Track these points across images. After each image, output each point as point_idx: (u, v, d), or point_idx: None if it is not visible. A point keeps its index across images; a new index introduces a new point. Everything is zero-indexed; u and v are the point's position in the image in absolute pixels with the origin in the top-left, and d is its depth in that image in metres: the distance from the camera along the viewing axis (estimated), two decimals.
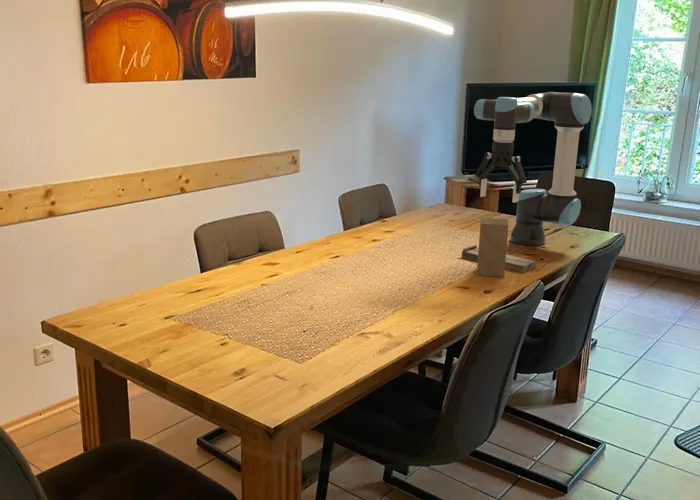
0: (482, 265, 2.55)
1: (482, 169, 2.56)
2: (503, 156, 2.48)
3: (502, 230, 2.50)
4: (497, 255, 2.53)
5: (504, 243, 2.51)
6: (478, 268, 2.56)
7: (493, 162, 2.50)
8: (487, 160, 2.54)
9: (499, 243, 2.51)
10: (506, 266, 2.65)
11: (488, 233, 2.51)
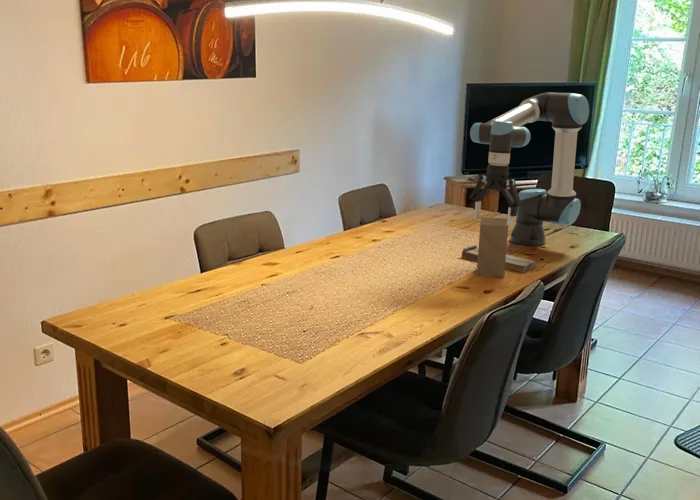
0: (482, 265, 2.55)
1: (476, 192, 2.56)
2: (498, 179, 2.48)
3: (502, 231, 2.49)
4: (497, 256, 2.52)
5: (504, 244, 2.50)
6: (478, 268, 2.55)
7: (488, 185, 2.51)
8: (482, 183, 2.55)
9: (499, 244, 2.51)
10: (506, 266, 2.65)
11: (487, 234, 2.50)
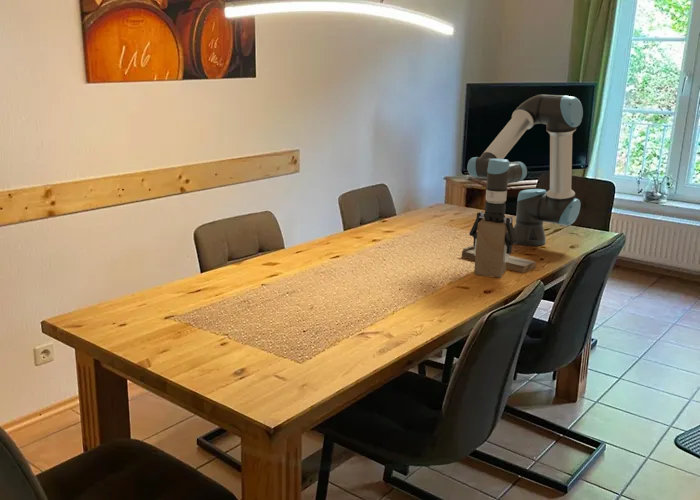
0: (479, 264, 2.56)
1: (476, 228, 2.60)
2: (495, 216, 2.52)
3: (498, 231, 2.50)
4: (493, 256, 2.53)
5: (500, 243, 2.50)
6: (475, 267, 2.57)
7: None
8: (480, 219, 2.59)
9: (496, 243, 2.51)
10: (506, 266, 2.65)
11: (484, 232, 2.52)
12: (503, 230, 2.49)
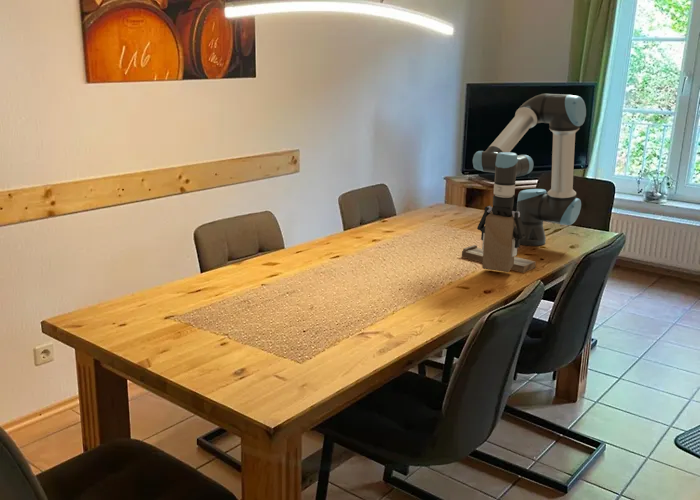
0: (487, 258, 2.54)
1: (484, 222, 2.59)
2: (504, 210, 2.51)
3: (507, 225, 2.48)
4: (502, 250, 2.51)
5: (508, 238, 2.49)
6: (483, 261, 2.55)
7: None
8: (488, 213, 2.57)
9: (504, 237, 2.50)
10: None
11: (492, 226, 2.50)
12: (511, 224, 2.48)
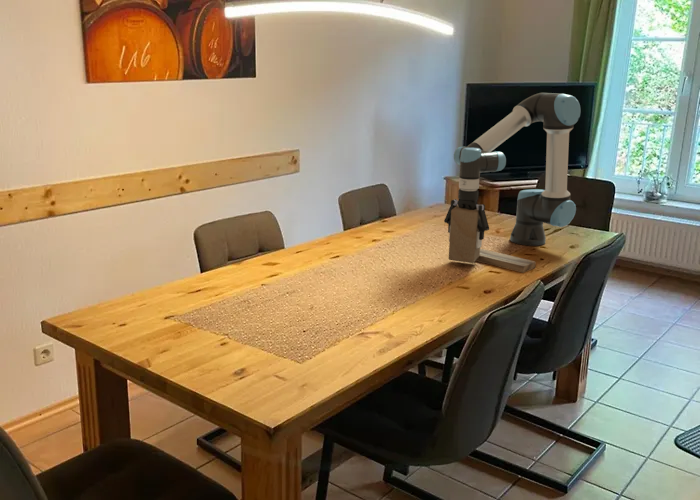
0: (453, 250, 2.64)
1: (450, 215, 2.69)
2: (468, 203, 2.61)
3: (471, 217, 2.58)
4: (466, 241, 2.61)
5: (473, 230, 2.59)
6: (449, 253, 2.65)
7: None
8: (454, 207, 2.67)
9: (469, 229, 2.60)
10: (506, 266, 2.65)
11: (458, 219, 2.60)
12: (475, 217, 2.58)
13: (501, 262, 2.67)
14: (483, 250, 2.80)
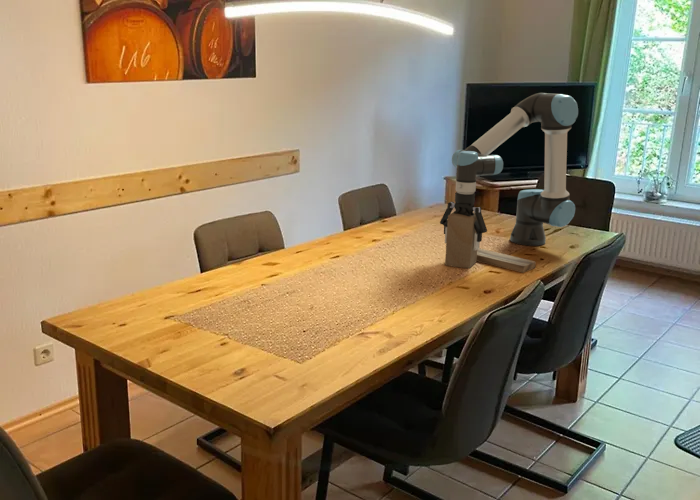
0: (450, 255, 2.66)
1: (446, 217, 2.71)
2: (465, 206, 2.62)
3: (467, 223, 2.60)
4: (463, 247, 2.63)
5: (469, 235, 2.61)
6: (446, 258, 2.67)
7: (456, 212, 2.65)
8: (451, 209, 2.69)
9: (465, 235, 2.61)
10: (506, 266, 2.65)
11: (454, 225, 2.62)
12: (471, 222, 2.59)
13: (501, 262, 2.67)
14: (483, 250, 2.80)
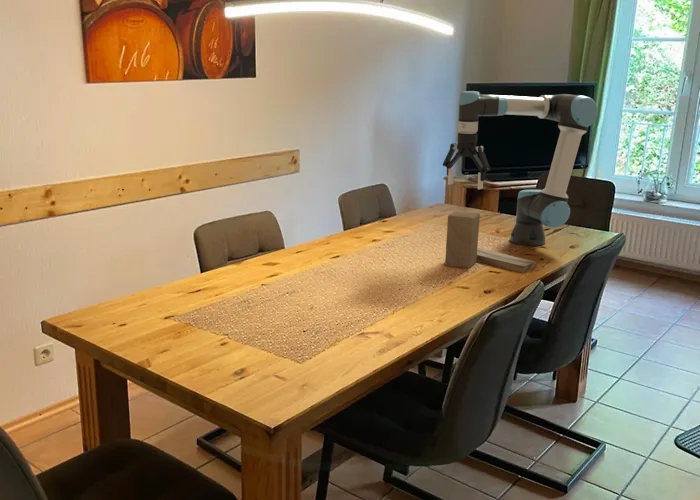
0: (450, 255, 2.66)
1: (449, 159, 2.74)
2: (468, 146, 2.66)
3: (467, 223, 2.60)
4: (463, 247, 2.63)
5: (469, 235, 2.61)
6: (446, 258, 2.67)
7: (459, 152, 2.68)
8: (453, 150, 2.72)
9: (465, 235, 2.61)
10: (506, 266, 2.65)
11: (454, 224, 2.62)
12: (471, 222, 2.59)
13: (501, 262, 2.67)
14: (483, 250, 2.80)
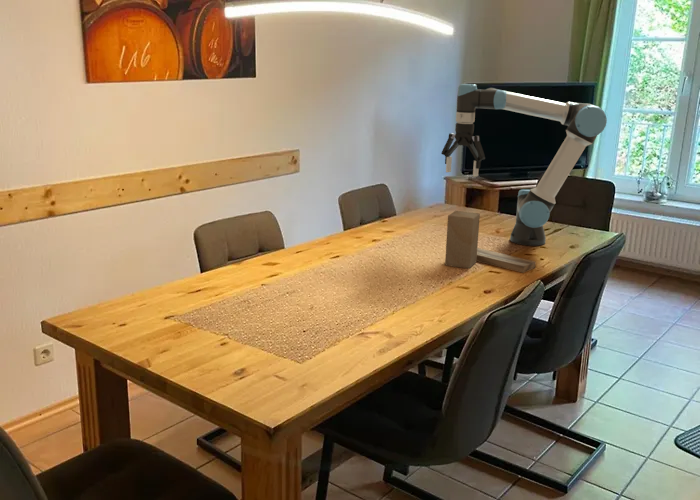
0: (450, 255, 2.66)
1: (447, 148, 2.91)
2: (465, 136, 2.82)
3: (467, 223, 2.60)
4: (463, 247, 2.63)
5: (469, 235, 2.61)
6: (446, 258, 2.67)
7: (456, 141, 2.85)
8: (451, 140, 2.89)
9: (465, 235, 2.61)
10: (506, 266, 2.65)
11: (454, 224, 2.62)
12: (471, 222, 2.59)
13: (501, 262, 2.67)
14: (483, 250, 2.80)
